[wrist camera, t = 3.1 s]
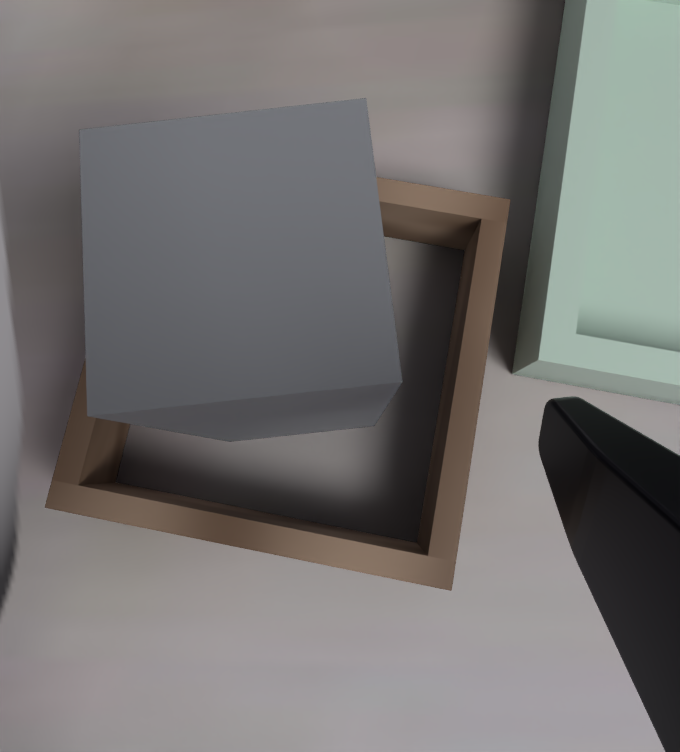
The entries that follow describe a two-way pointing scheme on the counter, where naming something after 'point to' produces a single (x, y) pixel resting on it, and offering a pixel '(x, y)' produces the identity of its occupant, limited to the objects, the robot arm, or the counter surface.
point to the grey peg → (237, 273)
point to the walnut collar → (310, 539)
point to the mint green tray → (609, 207)
